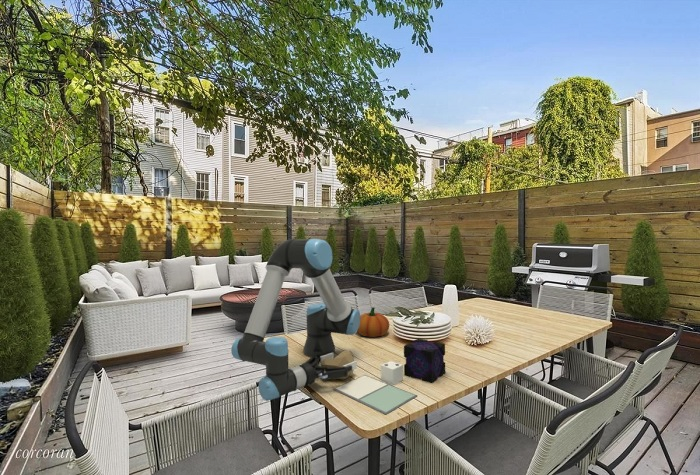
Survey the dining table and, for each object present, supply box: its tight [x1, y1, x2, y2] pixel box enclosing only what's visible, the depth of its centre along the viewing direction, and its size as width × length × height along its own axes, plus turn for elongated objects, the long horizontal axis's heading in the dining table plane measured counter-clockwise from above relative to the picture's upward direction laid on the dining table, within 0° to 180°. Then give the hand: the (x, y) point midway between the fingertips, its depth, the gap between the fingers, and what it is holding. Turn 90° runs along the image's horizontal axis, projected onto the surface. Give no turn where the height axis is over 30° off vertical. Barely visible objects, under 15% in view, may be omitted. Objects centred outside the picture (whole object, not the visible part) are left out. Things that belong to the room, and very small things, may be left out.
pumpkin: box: [356, 307, 390, 338], centre depth 193 cm, size 19×19×15 cm
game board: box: [332, 374, 418, 416], centre depth 122 cm, size 25×17×1 cm
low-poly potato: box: [319, 349, 355, 381], centre depth 136 cm, size 15×11×12 cm
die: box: [380, 360, 404, 386], centre depth 132 cm, size 6×6×6 cm
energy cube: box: [403, 338, 446, 384], centre depth 137 cm, size 12×12×12 cm
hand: (344, 360), depth 138 cm, fingers open, 13 cm apart
